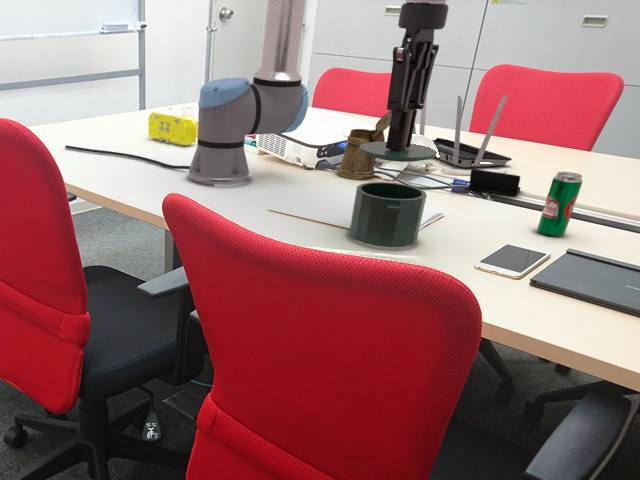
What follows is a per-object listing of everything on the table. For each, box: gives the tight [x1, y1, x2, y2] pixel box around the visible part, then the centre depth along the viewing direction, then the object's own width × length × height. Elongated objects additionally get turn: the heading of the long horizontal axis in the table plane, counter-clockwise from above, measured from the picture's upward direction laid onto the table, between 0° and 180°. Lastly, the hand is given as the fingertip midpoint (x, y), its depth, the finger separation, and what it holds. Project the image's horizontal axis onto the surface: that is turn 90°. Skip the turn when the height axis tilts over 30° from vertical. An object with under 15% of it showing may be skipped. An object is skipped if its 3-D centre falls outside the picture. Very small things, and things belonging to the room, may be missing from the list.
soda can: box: [536, 171, 583, 238], centre depth 130 cm, size 5×5×12 cm
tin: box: [348, 181, 428, 248], centre depth 126 cm, size 13×18×10 cm
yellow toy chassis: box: [147, 111, 197, 147], centre depth 202 cm, size 16×6×8 cm, turn 43°
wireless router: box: [413, 93, 513, 168], centre depth 185 cm, size 34×23×20 cm
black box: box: [468, 168, 521, 197], centre depth 159 cm, size 12×7×10 cm
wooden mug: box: [337, 110, 392, 180], centre depth 166 cm, size 9×14×18 cm, turn 36°
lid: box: [359, 108, 437, 163], centre depth 119 cm, size 14×14×8 cm
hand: (397, 147), depth 120 cm, fingers closed on lid, 3 cm apart
